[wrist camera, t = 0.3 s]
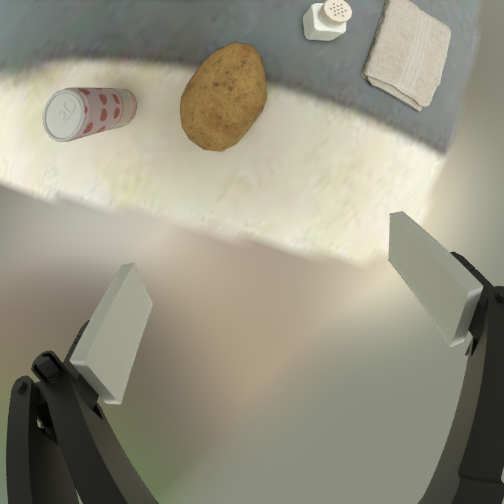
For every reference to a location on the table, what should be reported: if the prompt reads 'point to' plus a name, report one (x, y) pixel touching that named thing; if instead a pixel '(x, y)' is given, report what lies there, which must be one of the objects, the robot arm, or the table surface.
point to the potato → (224, 97)
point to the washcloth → (407, 54)
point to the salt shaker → (326, 20)
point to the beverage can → (87, 112)
